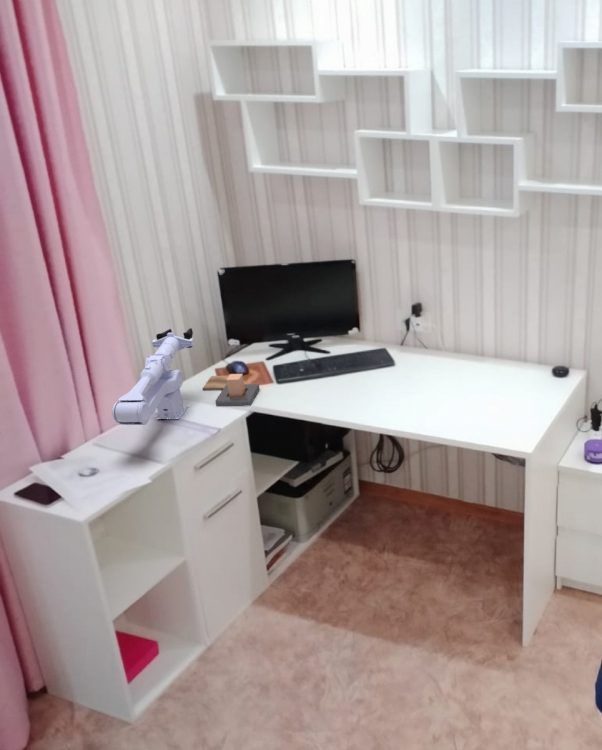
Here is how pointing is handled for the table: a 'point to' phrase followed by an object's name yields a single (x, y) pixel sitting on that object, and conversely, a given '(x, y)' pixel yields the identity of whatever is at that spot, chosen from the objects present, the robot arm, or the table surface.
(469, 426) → the table surface
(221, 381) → the walnut pad
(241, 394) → the pinkish brown rectangular block
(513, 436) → the table surface
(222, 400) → the socket plate
